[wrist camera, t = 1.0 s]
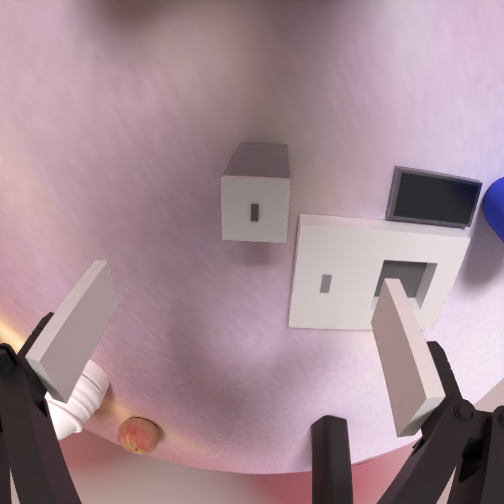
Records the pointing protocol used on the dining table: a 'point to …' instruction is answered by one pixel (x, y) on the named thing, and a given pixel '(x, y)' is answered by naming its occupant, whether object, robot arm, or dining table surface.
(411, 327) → the robot arm
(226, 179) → the plug
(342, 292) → the cabinet panel
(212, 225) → the dining table surface
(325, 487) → the wine bottle
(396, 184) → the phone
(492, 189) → the mug
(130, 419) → the apple
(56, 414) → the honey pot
